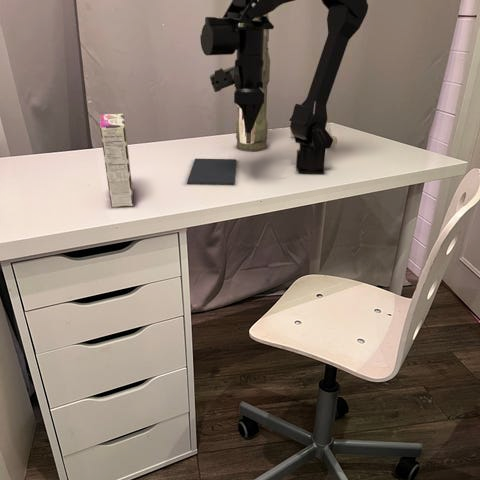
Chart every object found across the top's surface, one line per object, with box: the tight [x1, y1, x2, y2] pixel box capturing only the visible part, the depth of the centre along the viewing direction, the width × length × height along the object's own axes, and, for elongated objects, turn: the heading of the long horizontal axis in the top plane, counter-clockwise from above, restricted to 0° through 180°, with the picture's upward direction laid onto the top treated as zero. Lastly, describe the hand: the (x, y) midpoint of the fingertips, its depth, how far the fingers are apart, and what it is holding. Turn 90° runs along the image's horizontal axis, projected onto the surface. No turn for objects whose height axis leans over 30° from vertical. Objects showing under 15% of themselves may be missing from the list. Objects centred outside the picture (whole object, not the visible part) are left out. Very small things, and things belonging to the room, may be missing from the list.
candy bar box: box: [99, 113, 135, 209], centre depth 107 cm, size 11×5×16 cm, turn 12°
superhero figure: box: [290, 121, 338, 148], centre depth 153 cm, size 10×9×20 cm
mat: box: [186, 158, 237, 186], centre depth 129 cm, size 11×20×1 cm, turn 179°
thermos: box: [235, 13, 271, 152], centre depth 141 cm, size 9×12×35 cm
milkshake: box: [236, 104, 256, 144], centre depth 117 cm, size 5×5×10 cm
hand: (248, 130), depth 118 cm, fingers closed on milkshake, 4 cm apart
